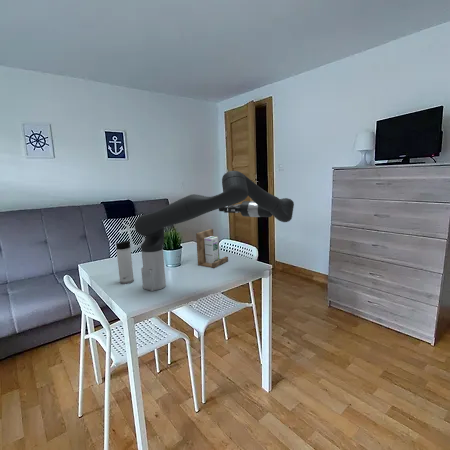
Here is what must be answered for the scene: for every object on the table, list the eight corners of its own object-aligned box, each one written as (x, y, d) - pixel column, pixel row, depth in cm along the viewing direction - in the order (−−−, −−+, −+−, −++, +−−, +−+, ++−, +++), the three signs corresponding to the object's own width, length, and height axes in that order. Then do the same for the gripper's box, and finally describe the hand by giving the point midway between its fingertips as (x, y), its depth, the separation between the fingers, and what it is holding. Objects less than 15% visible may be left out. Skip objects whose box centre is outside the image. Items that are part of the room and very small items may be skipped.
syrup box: (213, 264, 153) (212, 238, 151) (205, 262, 157) (204, 237, 154) (219, 261, 158) (218, 236, 155) (211, 260, 161) (210, 235, 159)
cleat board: (214, 268, 148) (212, 235, 145) (197, 265, 154) (196, 233, 151) (228, 261, 160) (226, 230, 157) (212, 258, 166) (211, 228, 163)
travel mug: (126, 285, 129) (122, 243, 126) (117, 282, 133) (112, 241, 129) (137, 280, 135) (133, 240, 131) (128, 278, 138) (124, 239, 135)
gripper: (258, 199, 139) (230, 199, 148) (244, 202, 127) (215, 202, 136) (258, 214, 140) (231, 213, 149) (245, 218, 129) (216, 217, 137)
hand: (223, 208), depth 142 cm, fingers open, 8 cm apart
